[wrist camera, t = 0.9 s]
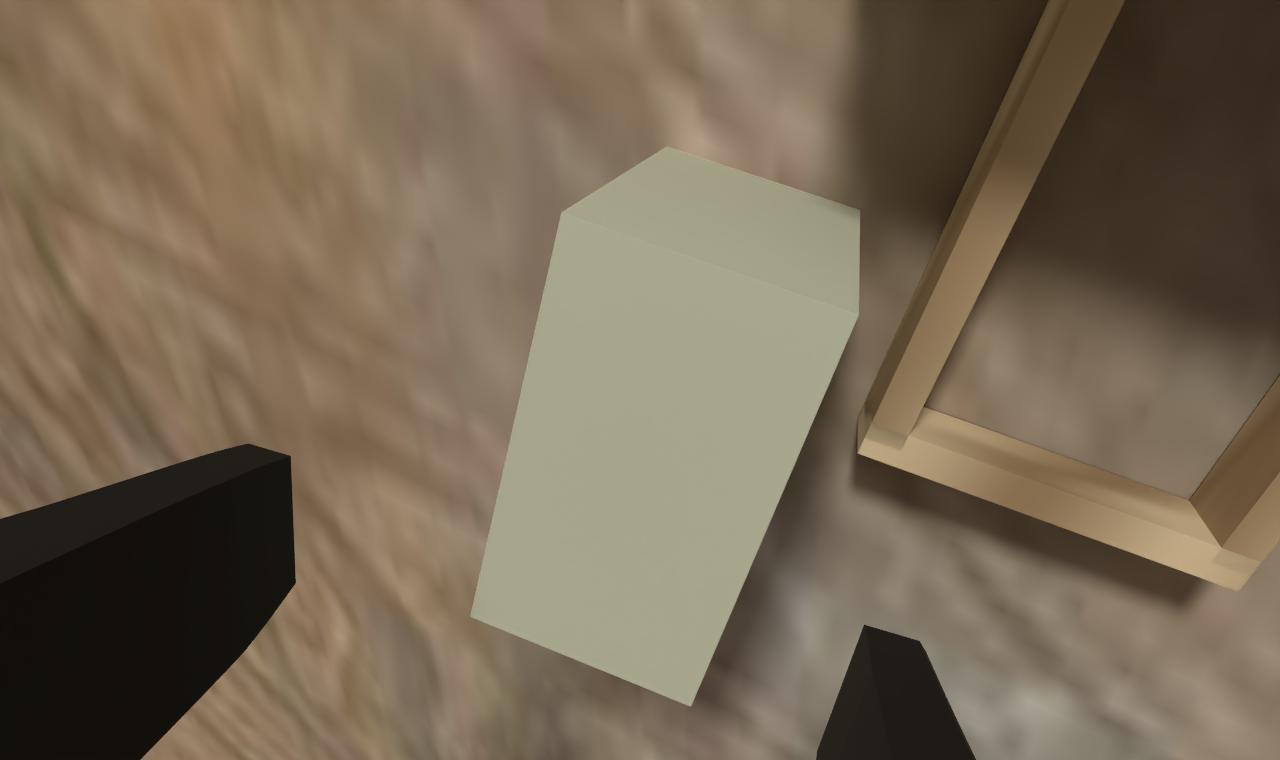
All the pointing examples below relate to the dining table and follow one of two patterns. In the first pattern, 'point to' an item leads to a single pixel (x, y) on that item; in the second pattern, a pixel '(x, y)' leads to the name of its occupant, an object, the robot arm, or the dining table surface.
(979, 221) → the wall board
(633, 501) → the cabinet block
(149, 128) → the dining table surface
